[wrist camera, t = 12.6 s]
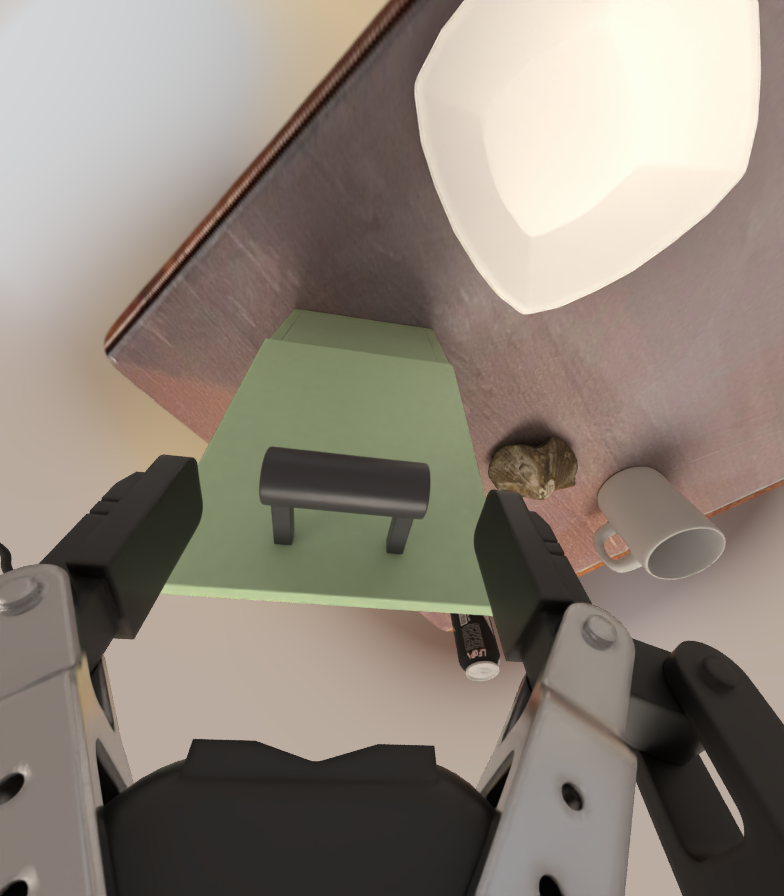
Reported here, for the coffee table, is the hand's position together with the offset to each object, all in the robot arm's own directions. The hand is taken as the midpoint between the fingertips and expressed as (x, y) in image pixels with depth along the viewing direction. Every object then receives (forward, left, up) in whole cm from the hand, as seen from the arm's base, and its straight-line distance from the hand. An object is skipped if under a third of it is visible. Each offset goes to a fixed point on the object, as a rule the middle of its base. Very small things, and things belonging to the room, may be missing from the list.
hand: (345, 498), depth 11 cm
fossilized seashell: (+22, -16, -31) cm, 41 cm away
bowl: (+14, +14, -31) cm, 36 cm away
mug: (+36, -21, -31) cm, 52 cm away
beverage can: (+21, -43, -31) cm, 57 cm away
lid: (0, -4, -10) cm, 11 cm away
